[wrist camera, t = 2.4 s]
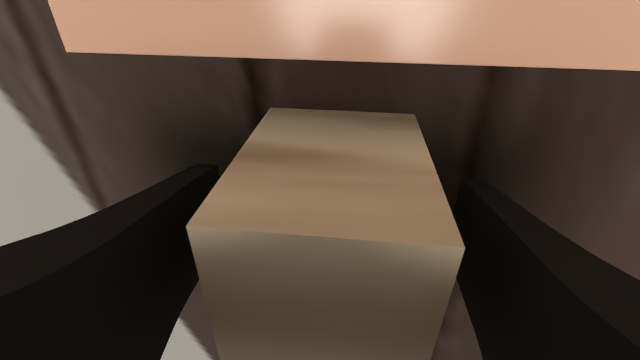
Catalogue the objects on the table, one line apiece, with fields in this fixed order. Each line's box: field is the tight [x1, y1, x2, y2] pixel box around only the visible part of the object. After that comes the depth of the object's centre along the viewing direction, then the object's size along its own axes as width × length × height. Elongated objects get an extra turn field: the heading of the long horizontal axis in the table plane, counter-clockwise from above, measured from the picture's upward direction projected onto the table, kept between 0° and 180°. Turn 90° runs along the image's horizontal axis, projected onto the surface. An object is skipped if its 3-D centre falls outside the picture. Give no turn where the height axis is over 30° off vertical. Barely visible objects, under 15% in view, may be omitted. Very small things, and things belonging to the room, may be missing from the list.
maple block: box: [186, 108, 465, 360], centre depth 9 cm, size 4×4×6 cm
